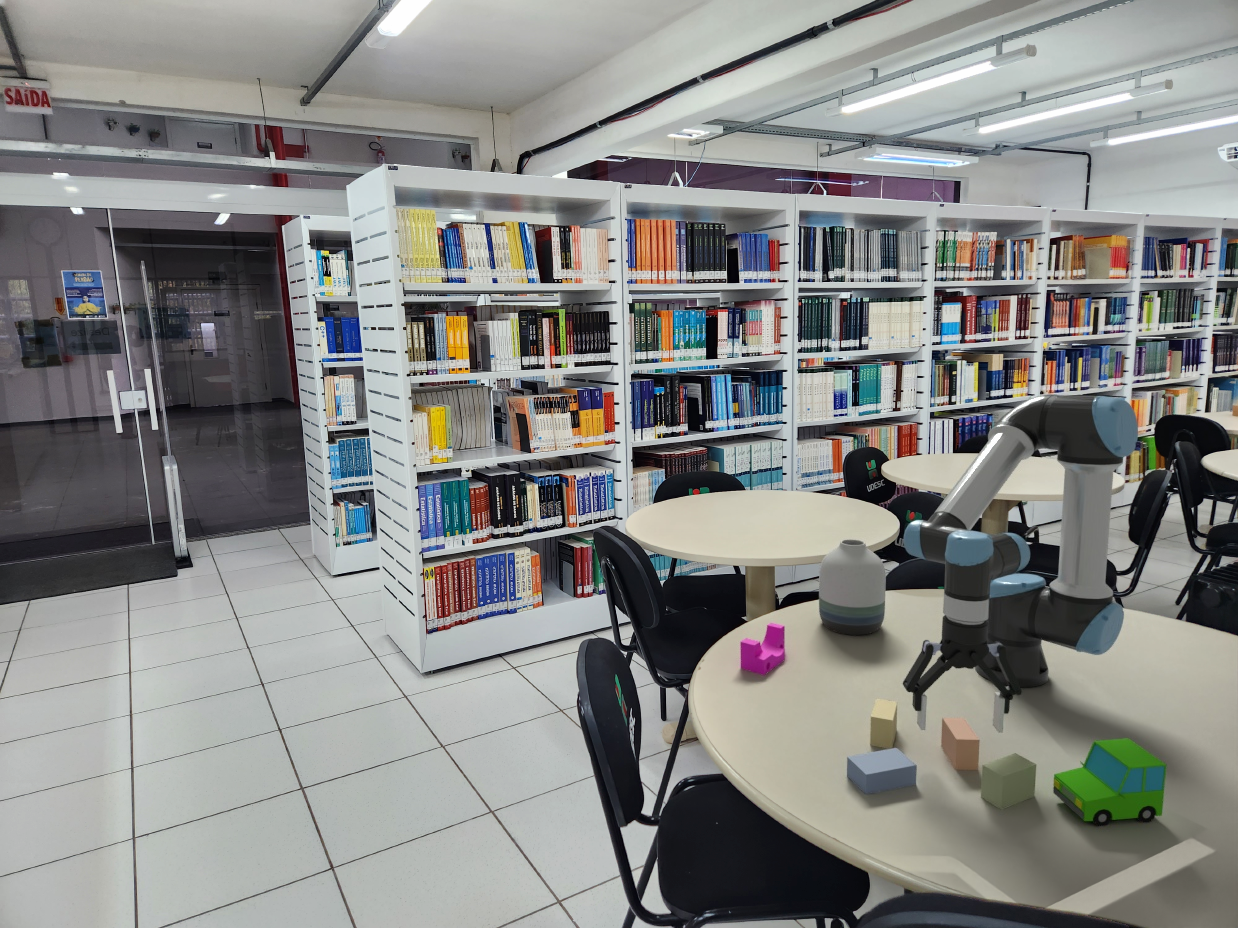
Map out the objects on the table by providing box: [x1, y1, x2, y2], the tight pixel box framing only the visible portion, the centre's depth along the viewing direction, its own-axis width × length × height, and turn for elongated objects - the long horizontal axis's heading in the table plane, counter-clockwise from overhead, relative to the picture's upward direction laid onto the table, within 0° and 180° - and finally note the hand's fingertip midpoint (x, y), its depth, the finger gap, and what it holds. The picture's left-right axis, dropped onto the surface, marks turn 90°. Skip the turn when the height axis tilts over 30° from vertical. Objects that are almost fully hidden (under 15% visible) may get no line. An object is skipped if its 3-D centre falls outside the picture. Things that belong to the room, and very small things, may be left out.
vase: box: [818, 538, 887, 636], centre depth 204 cm, size 17×17×24 cm
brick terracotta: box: [940, 717, 981, 771], centre depth 142 cm, size 8×4×6 cm, turn 174°
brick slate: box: [846, 747, 918, 795], centre depth 136 cm, size 10×6×4 cm, turn 105°
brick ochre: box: [869, 698, 898, 749], centre depth 150 cm, size 8×4×6 cm, turn 154°
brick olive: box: [980, 752, 1037, 810], centre depth 129 cm, size 8×4×6 cm, turn 115°
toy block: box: [740, 622, 786, 676], centre depth 185 cm, size 15×6×8 cm, turn 141°
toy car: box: [1052, 738, 1167, 827], centre depth 125 cm, size 10×13×10 cm
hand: (959, 727), depth 141 cm, fingers open, 13 cm apart
